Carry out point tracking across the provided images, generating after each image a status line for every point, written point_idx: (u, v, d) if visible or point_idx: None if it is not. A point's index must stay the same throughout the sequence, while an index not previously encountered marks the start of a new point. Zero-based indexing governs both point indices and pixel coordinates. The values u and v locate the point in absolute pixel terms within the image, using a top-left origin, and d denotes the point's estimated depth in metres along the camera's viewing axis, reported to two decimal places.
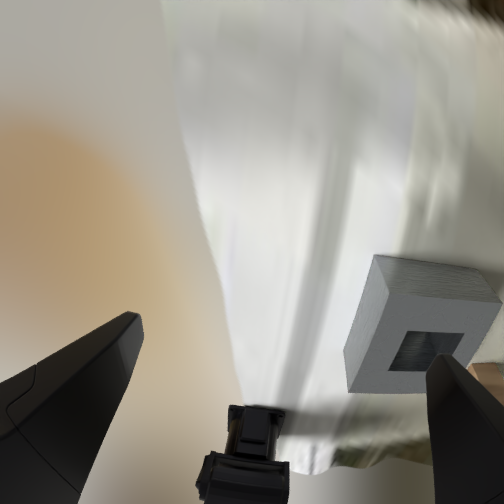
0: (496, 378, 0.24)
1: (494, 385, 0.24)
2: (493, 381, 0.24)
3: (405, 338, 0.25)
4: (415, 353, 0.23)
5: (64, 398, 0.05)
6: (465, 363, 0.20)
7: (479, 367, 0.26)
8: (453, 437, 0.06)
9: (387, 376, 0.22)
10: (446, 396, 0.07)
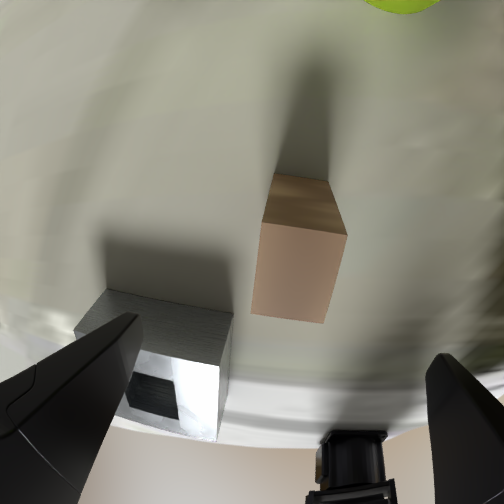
0: None
1: None
2: None
3: None
4: None
5: (64, 398, 0.05)
6: (157, 357, 0.18)
7: None
8: (453, 437, 0.06)
9: (187, 421, 0.21)
10: (446, 396, 0.07)
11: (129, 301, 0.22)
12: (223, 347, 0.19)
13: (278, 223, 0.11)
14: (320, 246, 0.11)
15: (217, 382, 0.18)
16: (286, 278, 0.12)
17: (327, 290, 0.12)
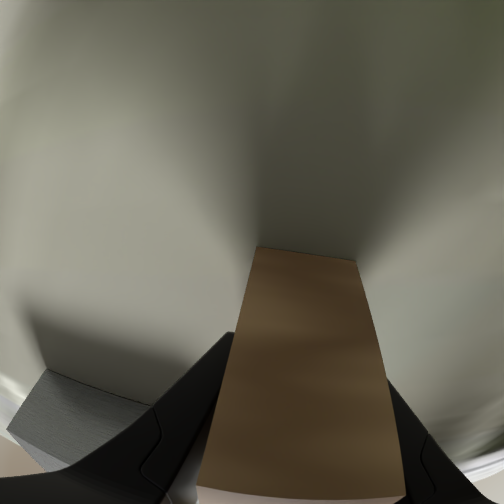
0: None
1: None
2: None
3: None
4: None
5: (199, 441, 0.05)
6: None
7: None
8: None
9: None
10: None
11: (71, 392, 0.14)
12: None
13: (239, 487, 0.03)
14: None
15: None
16: None
17: None
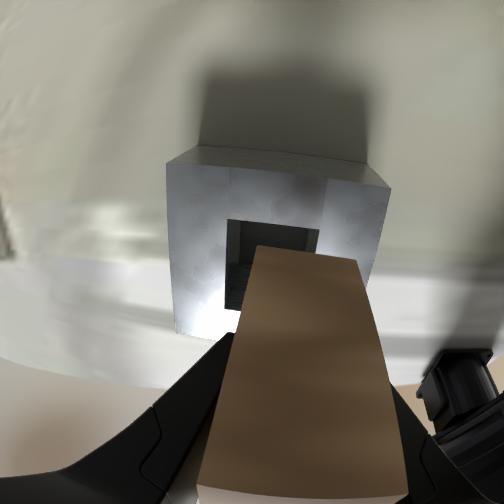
0: None
1: None
2: None
3: (308, 242, 0.19)
4: (310, 249, 0.17)
5: (199, 441, 0.05)
6: (306, 182, 0.13)
7: None
8: None
9: None
10: None
11: (236, 150, 0.17)
12: (380, 179, 0.14)
13: (240, 486, 0.03)
14: None
15: (382, 220, 0.14)
16: None
17: None
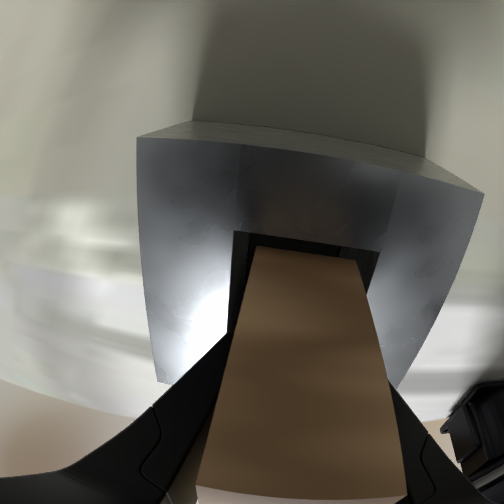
0: None
1: None
2: None
3: None
4: None
5: (199, 441, 0.05)
6: (368, 176, 0.08)
7: None
8: None
9: None
10: None
11: (247, 127, 0.11)
12: (459, 178, 0.09)
13: (239, 486, 0.03)
14: None
15: (467, 241, 0.08)
16: None
17: None
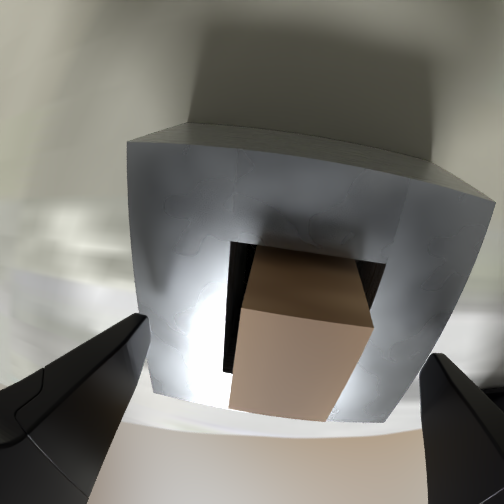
0: None
1: None
2: None
3: None
4: None
5: (73, 402, 0.05)
6: (374, 183, 0.07)
7: None
8: (446, 438, 0.06)
9: (356, 384, 0.10)
10: (439, 396, 0.07)
11: (245, 129, 0.11)
12: (468, 185, 0.08)
13: (267, 309, 0.07)
14: (331, 341, 0.07)
15: (477, 251, 0.07)
16: (277, 377, 0.08)
17: (335, 390, 0.08)
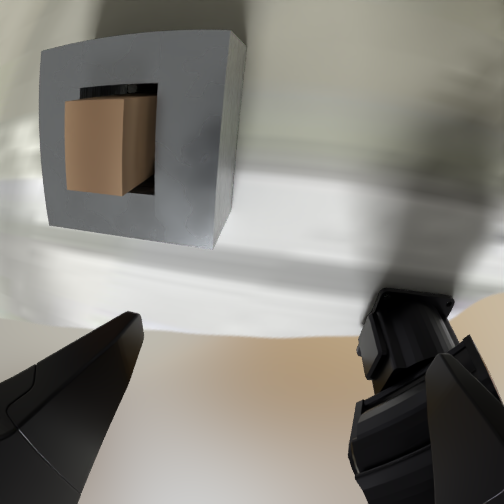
0: None
1: None
2: None
3: None
4: None
5: (64, 398, 0.05)
6: (143, 39, 0.11)
7: None
8: (453, 437, 0.06)
9: (167, 191, 0.14)
10: (446, 396, 0.07)
11: None
12: (236, 37, 0.12)
13: (76, 100, 0.10)
14: (105, 113, 0.11)
15: (225, 64, 0.11)
16: (85, 149, 0.11)
17: (117, 157, 0.11)
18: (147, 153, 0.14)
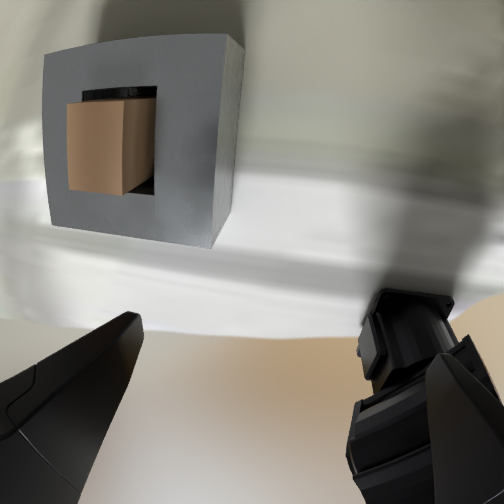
0: None
1: None
2: None
3: None
4: None
5: (64, 398, 0.05)
6: (143, 43, 0.11)
7: None
8: (453, 437, 0.06)
9: (167, 191, 0.14)
10: (446, 396, 0.07)
11: None
12: (233, 40, 0.12)
13: (78, 102, 0.11)
14: (105, 115, 0.11)
15: (222, 67, 0.11)
16: (86, 149, 0.12)
17: (117, 157, 0.12)
18: (147, 155, 0.14)
